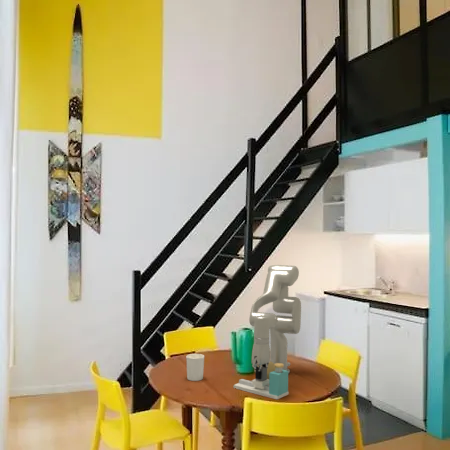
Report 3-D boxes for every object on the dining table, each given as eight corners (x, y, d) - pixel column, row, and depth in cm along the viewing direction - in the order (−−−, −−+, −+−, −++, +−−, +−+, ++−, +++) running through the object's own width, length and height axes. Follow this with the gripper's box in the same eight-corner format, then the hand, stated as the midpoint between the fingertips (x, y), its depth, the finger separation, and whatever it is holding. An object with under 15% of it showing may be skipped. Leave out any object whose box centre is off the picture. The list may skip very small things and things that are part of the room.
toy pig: (253, 378, 269) (253, 358, 269) (275, 378, 269) (275, 358, 269) (255, 384, 259) (255, 363, 259) (278, 384, 259) (278, 363, 259)
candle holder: (192, 374, 274) (193, 352, 274) (207, 377, 269) (208, 355, 269) (182, 379, 265) (182, 356, 265) (197, 382, 260) (197, 359, 260)
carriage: (260, 384, 252) (260, 365, 252) (270, 386, 249) (270, 367, 249) (251, 387, 247) (252, 368, 247) (262, 390, 243) (262, 370, 243)
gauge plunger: (277, 376, 245) (277, 362, 245) (285, 377, 242) (285, 364, 242) (272, 378, 241) (272, 364, 241) (280, 380, 238) (280, 365, 238)
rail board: (245, 383, 260) (245, 361, 260) (288, 394, 244) (288, 370, 244) (233, 388, 252) (233, 365, 252) (277, 399, 236) (277, 375, 236)
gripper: (264, 336, 257) (264, 372, 257) (245, 342, 244) (244, 380, 244) (277, 339, 252) (276, 375, 252) (258, 344, 239) (257, 383, 239)
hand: (261, 377), depth 248 cm, fingers closed on carriage, 4 cm apart
